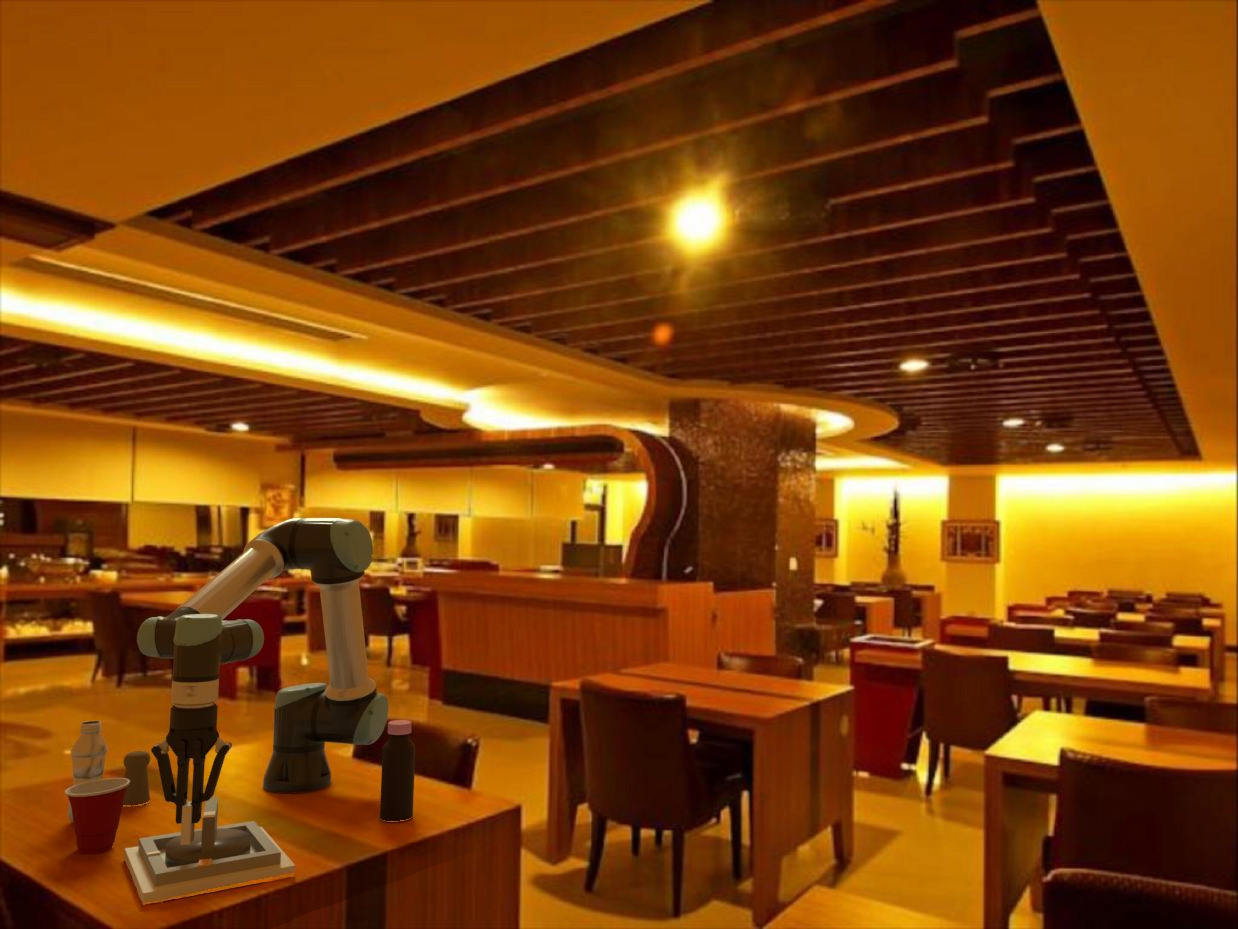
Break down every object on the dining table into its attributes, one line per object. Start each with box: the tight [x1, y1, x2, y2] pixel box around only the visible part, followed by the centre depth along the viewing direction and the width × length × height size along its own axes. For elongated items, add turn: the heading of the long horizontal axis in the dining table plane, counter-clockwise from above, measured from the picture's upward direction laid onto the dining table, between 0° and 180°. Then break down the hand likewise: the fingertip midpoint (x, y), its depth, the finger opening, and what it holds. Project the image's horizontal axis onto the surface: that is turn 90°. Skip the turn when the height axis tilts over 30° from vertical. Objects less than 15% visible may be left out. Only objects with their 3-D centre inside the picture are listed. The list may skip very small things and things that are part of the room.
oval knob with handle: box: [165, 797, 251, 867], centre depth 167 cm, size 14×14×9 cm
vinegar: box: [379, 719, 416, 822], centre depth 197 cm, size 7×7×20 cm
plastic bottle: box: [67, 720, 108, 823], centre depth 190 cm, size 6×7×20 cm
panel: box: [123, 820, 296, 903], centre depth 166 cm, size 24×24×4 cm
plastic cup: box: [64, 777, 130, 855], centre depth 175 cm, size 11×11×12 cm
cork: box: [123, 750, 151, 806], centre depth 203 cm, size 6×6×11 cm
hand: (187, 842), depth 161 cm, fingers closed
